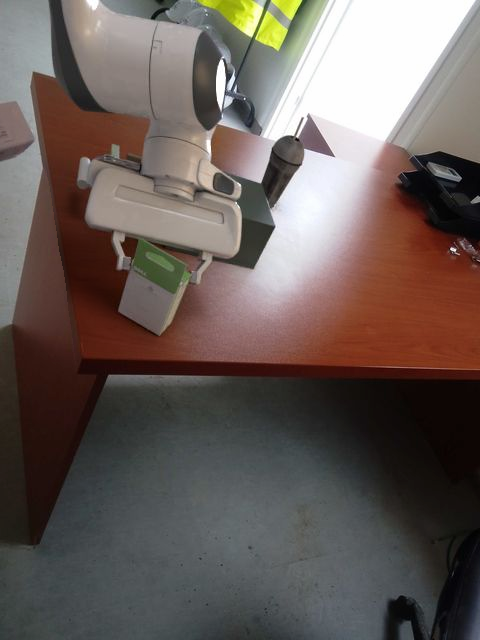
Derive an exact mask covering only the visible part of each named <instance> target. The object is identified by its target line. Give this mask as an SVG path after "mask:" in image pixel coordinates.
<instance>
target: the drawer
mask: <svg viewBox="0 0 480 640" xmlns="http://www.w3.org/2000/svg"><path fill="white" fill-rule="evenodd" d="M109 155H112V156H115V157H116V158H119V159H120V145H117V144H115V143H111V147H110V151H109ZM141 159H142V155H138V154H134V153H131V152H127V153H126V158H125V160H129V161H132V162H136V163H139V164H141ZM90 162H91V160H90V159H89V158H88V156H87V157H86V156H81V158H80V159H79V165H78V172H77V180H76V186H77V187H78V188H79V189H81V190H86V189H88V188H90V189H92V187H91V185H90V184H89V181H88V171H89V165H90Z"/></svg>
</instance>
